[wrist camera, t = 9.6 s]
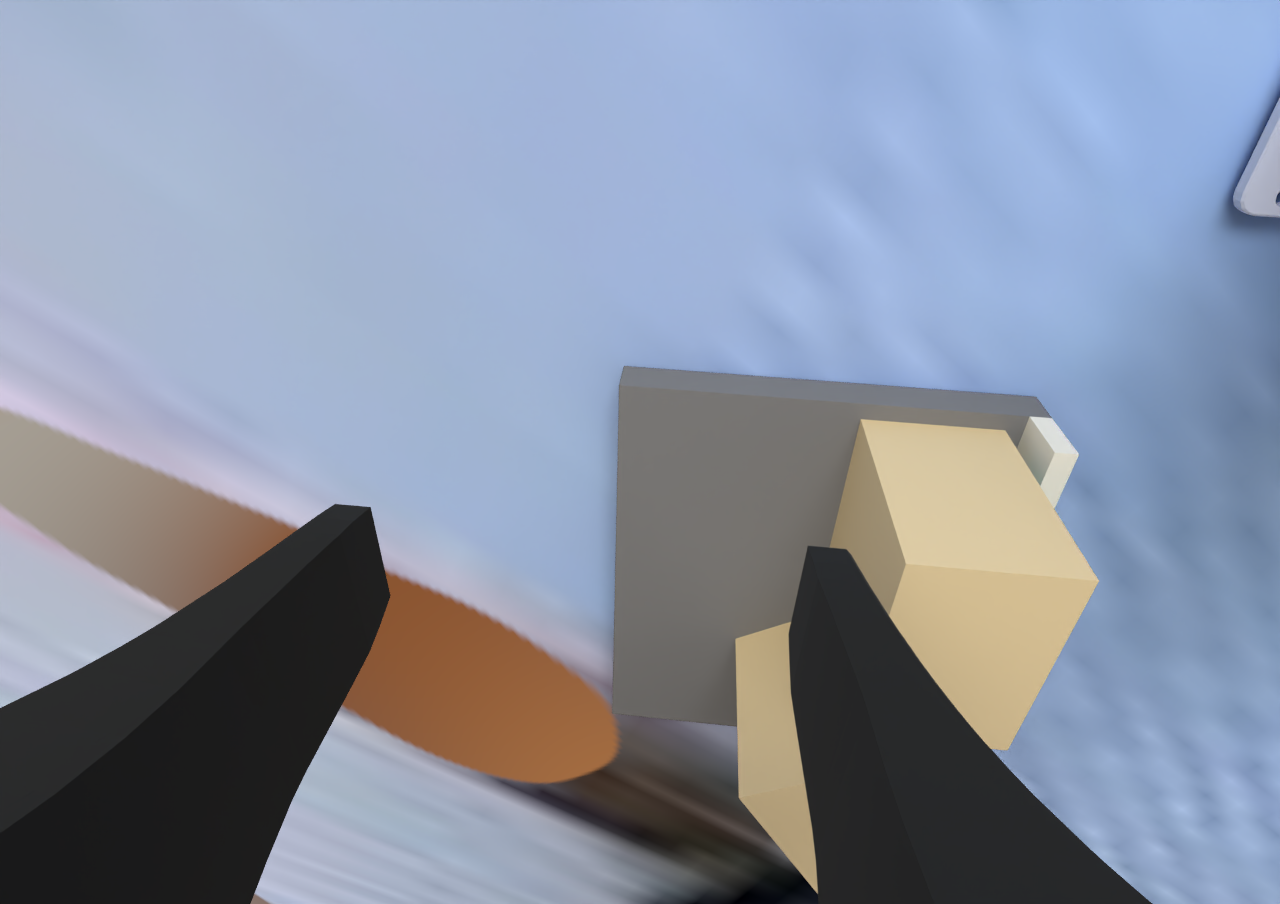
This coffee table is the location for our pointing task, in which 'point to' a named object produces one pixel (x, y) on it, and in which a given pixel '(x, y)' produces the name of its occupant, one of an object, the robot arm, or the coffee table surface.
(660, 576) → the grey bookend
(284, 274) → the coffee table surface
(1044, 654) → the carton faced
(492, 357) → the coffee table surface
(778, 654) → the carton
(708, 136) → the coffee table surface
